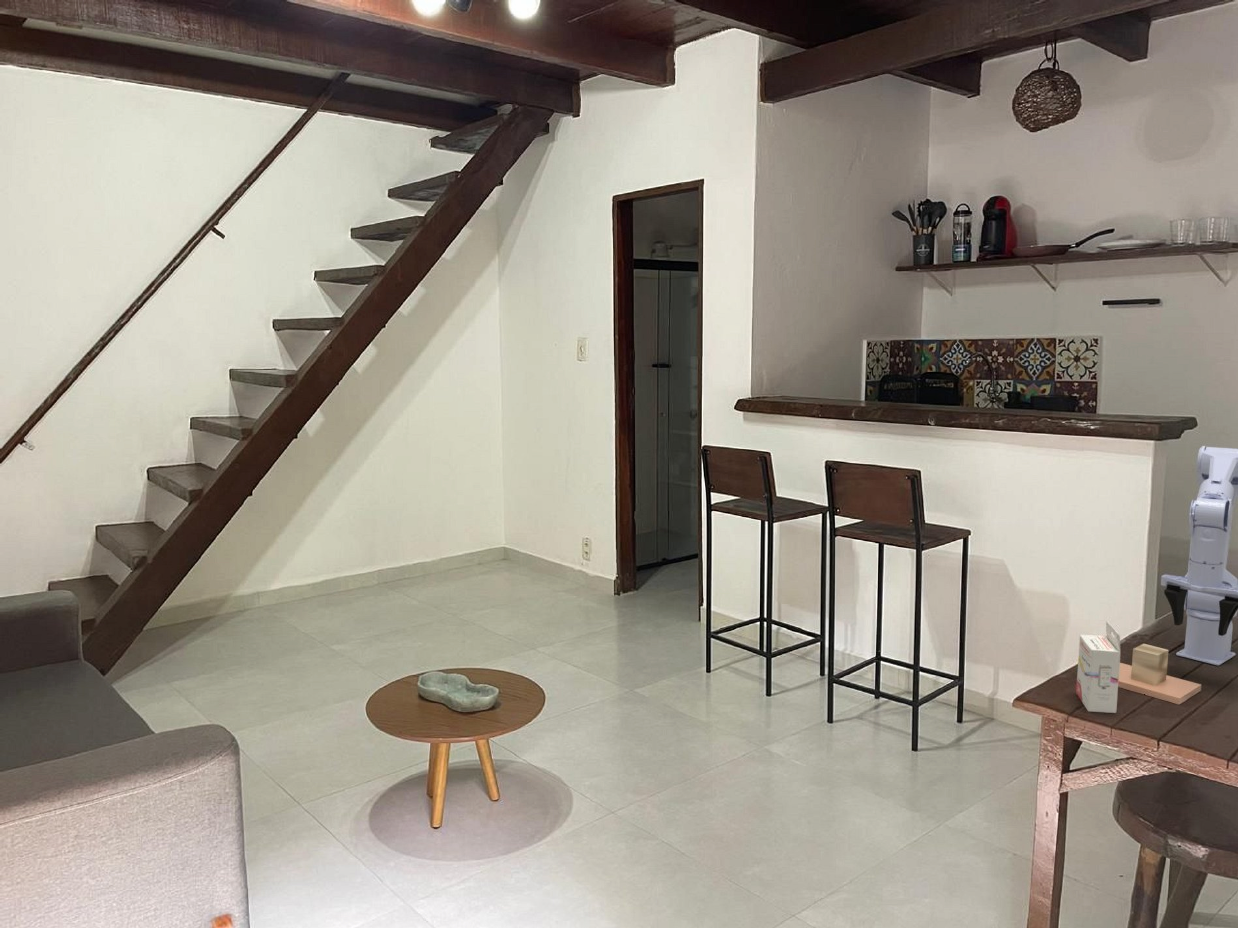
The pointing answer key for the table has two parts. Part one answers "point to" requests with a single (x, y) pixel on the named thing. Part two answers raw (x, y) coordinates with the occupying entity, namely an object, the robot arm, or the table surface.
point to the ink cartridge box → (1099, 671)
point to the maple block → (1149, 664)
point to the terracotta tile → (1159, 686)
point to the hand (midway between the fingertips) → (1200, 629)
